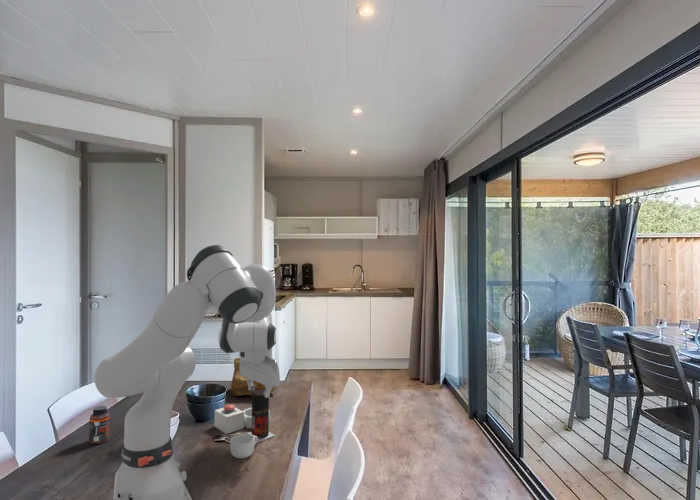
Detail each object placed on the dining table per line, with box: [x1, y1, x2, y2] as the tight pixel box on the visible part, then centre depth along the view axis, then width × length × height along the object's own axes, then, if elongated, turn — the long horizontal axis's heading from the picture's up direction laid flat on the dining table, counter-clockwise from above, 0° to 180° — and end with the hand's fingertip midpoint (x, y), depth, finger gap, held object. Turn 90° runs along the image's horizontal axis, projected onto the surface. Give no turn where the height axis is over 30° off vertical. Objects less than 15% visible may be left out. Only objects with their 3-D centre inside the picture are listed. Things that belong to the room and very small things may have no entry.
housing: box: [213, 406, 271, 435], centre depth 157 cm, size 13×18×6 cm
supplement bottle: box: [88, 405, 111, 445], centre depth 142 cm, size 6×6×11 cm
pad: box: [248, 431, 276, 444], centre depth 148 cm, size 8×8×1 cm
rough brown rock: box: [230, 357, 277, 397], centre depth 191 cm, size 23×17×15 cm
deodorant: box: [251, 390, 270, 439], centre depth 148 cm, size 6×6×15 cm
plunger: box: [223, 403, 236, 414], centre depth 155 cm, size 4×4×6 cm
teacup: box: [229, 432, 258, 460], centre depth 135 cm, size 10×8×5 cm
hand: (258, 393), depth 148 cm, fingers open, 8 cm apart
